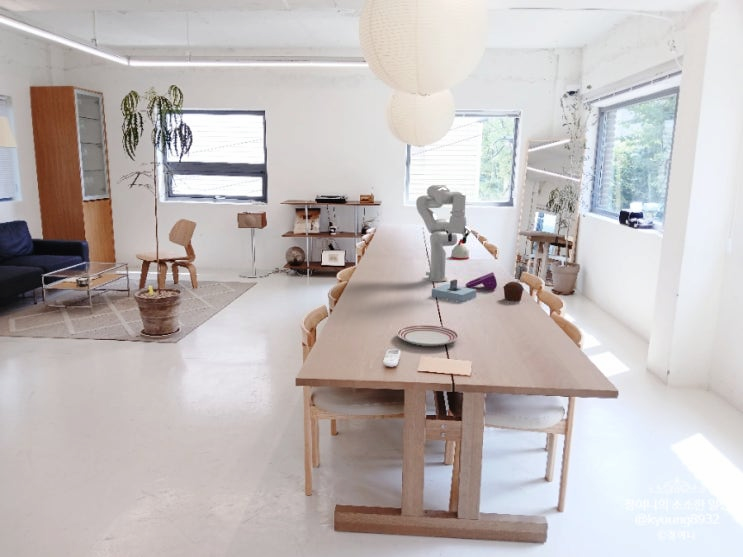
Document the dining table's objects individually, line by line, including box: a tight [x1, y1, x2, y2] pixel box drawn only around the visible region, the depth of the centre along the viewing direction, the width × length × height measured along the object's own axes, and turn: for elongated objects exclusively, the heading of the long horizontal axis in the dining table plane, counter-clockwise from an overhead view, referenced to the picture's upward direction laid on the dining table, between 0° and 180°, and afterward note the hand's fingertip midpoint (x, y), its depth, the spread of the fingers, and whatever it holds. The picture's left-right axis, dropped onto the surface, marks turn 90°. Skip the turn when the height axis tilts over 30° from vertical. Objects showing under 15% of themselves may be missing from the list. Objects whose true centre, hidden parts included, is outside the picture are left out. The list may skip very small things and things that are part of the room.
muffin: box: [502, 281, 524, 302], centre depth 314 cm, size 12×11×10 cm
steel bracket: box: [449, 279, 458, 291], centre depth 316 cm, size 4×5×10 cm
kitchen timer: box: [450, 238, 470, 261], centre depth 432 cm, size 14×14×15 cm
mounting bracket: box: [465, 271, 498, 291], centre depth 339 cm, size 9×8×18 cm
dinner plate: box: [396, 324, 460, 347], centre depth 246 cm, size 28×27×3 cm
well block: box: [431, 283, 477, 304], centre depth 318 cm, size 20×16×4 cm
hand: (456, 242), depth 332 cm, fingers open, 9 cm apart
